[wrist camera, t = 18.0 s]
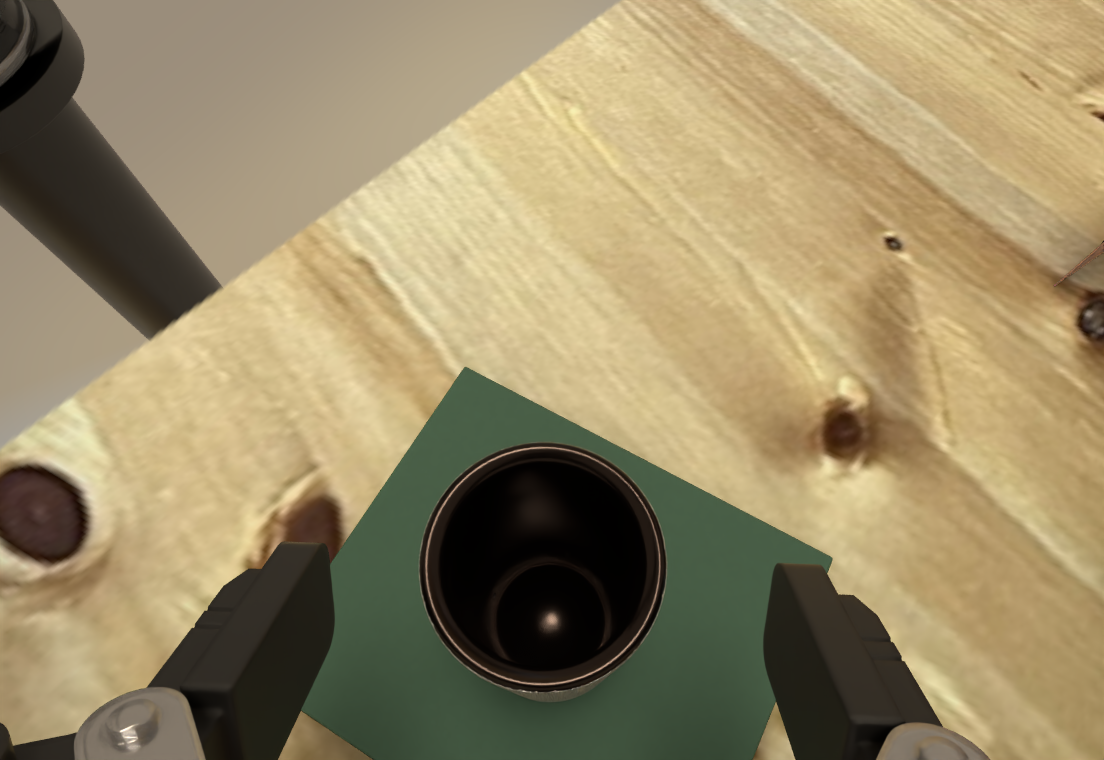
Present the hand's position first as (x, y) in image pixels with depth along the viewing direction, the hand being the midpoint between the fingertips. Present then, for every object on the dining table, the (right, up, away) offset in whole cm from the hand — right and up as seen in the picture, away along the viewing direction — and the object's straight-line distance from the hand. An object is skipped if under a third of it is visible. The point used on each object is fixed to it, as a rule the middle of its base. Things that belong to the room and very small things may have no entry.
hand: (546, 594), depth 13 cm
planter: (0, -4, +10) cm, 10 cm away
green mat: (0, -4, +10) cm, 11 cm away
